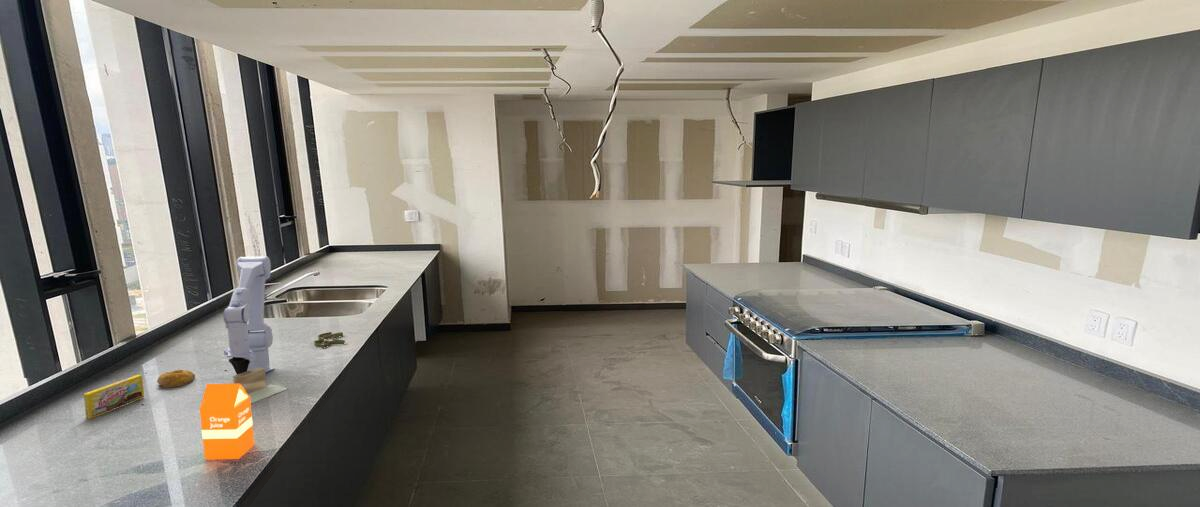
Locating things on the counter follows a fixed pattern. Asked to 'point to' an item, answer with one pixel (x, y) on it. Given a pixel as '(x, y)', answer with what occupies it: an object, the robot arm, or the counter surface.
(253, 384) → the maple tile
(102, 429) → the counter surface
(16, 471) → the counter surface
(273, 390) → the sage mat
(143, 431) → the counter surface
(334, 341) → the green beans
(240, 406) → the orange juice
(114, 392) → the candy box
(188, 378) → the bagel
